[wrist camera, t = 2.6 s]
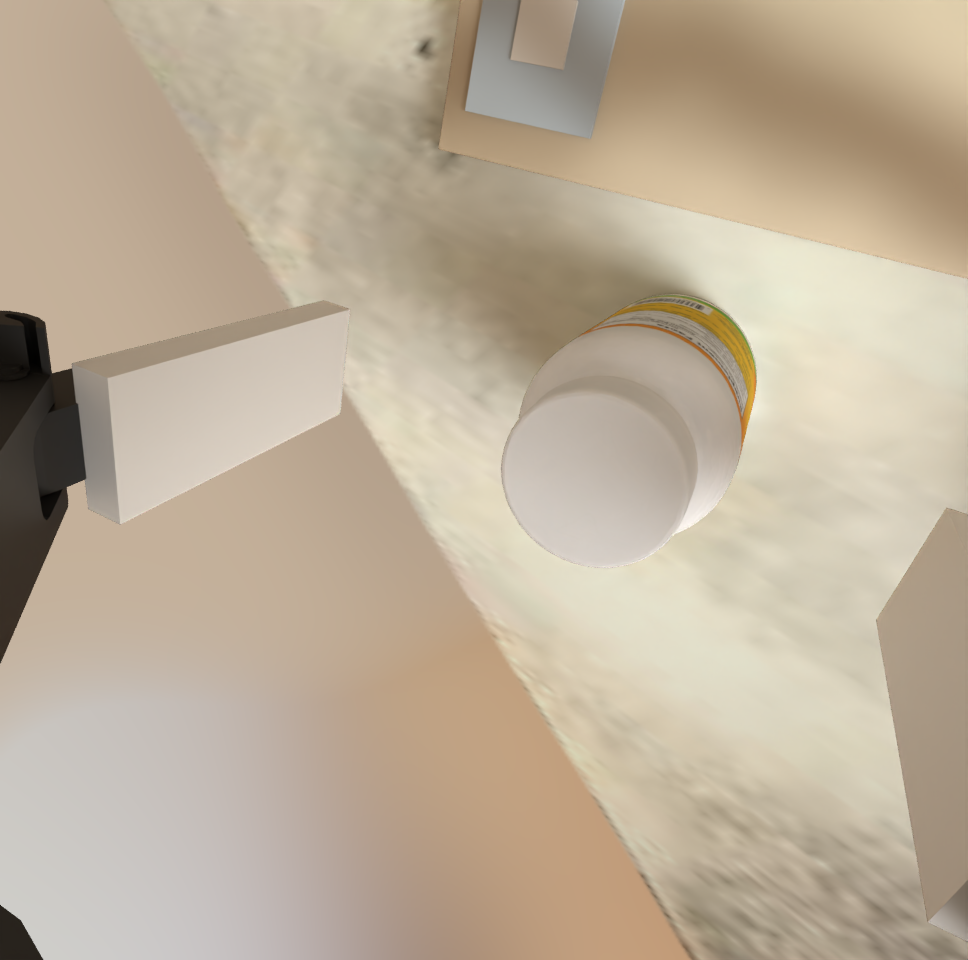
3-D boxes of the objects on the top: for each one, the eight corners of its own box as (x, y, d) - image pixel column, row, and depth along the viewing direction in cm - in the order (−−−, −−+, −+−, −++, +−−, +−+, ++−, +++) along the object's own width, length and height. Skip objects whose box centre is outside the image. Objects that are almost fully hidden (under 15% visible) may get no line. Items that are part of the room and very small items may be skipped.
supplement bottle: (650, 481, 23) (567, 634, 15) (559, 357, 23) (425, 447, 15) (794, 397, 20) (786, 532, 12) (692, 254, 20) (615, 296, 12)
